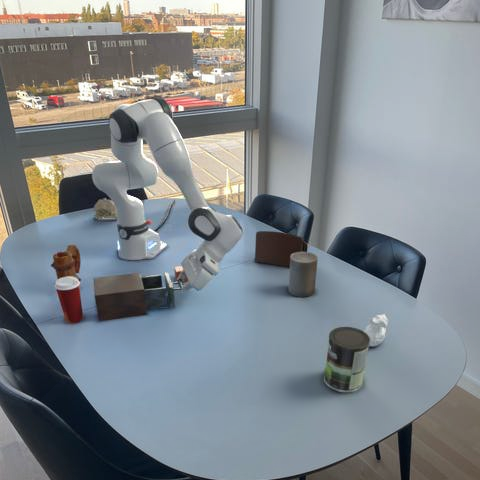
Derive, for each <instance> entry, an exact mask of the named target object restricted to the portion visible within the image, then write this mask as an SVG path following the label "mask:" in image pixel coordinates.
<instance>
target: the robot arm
mask: <svg viewBox="0 0 480 480" xmlns="http://www.w3.org/2000/svg"><path fill="white" fill-rule="evenodd" d="M108 128H109V130H110V150H111V153H112V155H113V156H114V157H115V158H116V159H117V160H115V161H105V162H102V163H99V164H96V165H95V166H94V167H93V169H92V173H91V179H92V182H93V184H94V186H95V187H96V188H97V189H98V190H99V191H101V192H102V193H104V194H105V195H107V196H108V197H109V199H110V200H111V201H112V202H113V203H114V206H115V209H116V213H117V223H116V228H117V233H118V234H117V236H118V237H117V238H118V240H117V252H118V255H117V256H118V257H119V258H120V259H122V260H124V261H139V260H150V259H154V258H155V257H157V255H159V254H160V253H161V252H163V250H165V249H166V248H167V247H168V245H167V244H166V243H165V242H163V241H162V240H161V236H160V234H159V233H157V232H156V231H158V229H160V228H161V227H162V226H163V224H165V222H166V220H167V218H168V216H169V214H170V211H171V208H172V206H173V204H174V203H175V201H176V199H173V200H172V202H171V203H170V205H169V206H168V210H167V212H166V214H165V217H164V219H163V220H162V221H161V222H160V224H159V225H158V226H157V227H155V228H154V229H151V228H150V227H149V226H152V225H153V221H152V220H151V219H147V220H146V217H145V208H144V204H143V202H142V201H141V200H140V199H139V198H137V197H134V196H131V195H129V194H128V193H127V191H128V190H135V189H144V188H148V187H151V186H154V185H156V183H157V182H158V179H159V169H160V170H161V172H162V173H163V174H164V175H165V176H166V177H167V178H168V179H170V180H171V181H172V182H173V183H174V184H175V185H176V186H177V187H178V189H179V190H180V192H181V194H182V196H183V198H184V200H185V202H186V204H187V206H188V208H189V210H190V214H189V215H188V217H187V218H188V219H187V224H188V228H189V229H190V231H191V232H192V233H193V234H194V235H195V236H196V237H197V236H198V237H199V238H200V239H202V240H203V241H202V243H201V244H199V246H198V247H197V248H196V249H194V250H192V251H191V252H189V253H188V254H187V255H186V256H185V257H184V258H183V259H182V260H181V262H180V265H181V266H182V267H183V270H182V271H181V273H180V276H179V277H178V278H177V281H176V282H178V281H179V280H182V282H183V281H184V278H185V277H186V276H187V278H188V281H187V282H186V284H184V286H182V287H181V288H180V287H179V288H180V290H179V291H180V292H181V293H183V294H185V293H186V292H187V291H188V290H191V289H194V290H195V291H196V292H199V291H201V290H203V289H204V288H205V287H206V286H207V285H208V284H209V283H210V282H211V280H212V279H213V277H214V276H215V277H216V276H217V275H218V274H219V273H220V263H221V262H222V260H224V257H226V255H227V254H228V253H230V252H231V251H232V250H233V249H234V247H235V246H236V245H237V244H238V243H239V241H240V240H241V238H242V237H243V234H244V232H243V231H244V230H243V228H242V226H241V224H240V223H239V221H238V220H237V219H236V217H235V216H233V215H232V214H224V213H222V212H218V211H216V210H215V208H213V207H212V206H211V204H209V203H208V202H207V200H206V198H205V196H204V194H203V191H202V190H201V188H200V186H199V184H198V182H197V179H196V177H195V174H194V168H193V166H192V161H191V157H190V154H189V151H188V148H187V146H186V142H185V141H184V139H183V137H182V135H181V133H180V132H179V129H178V127H177V126H176V124H175V123H174V114H173V110H172V107H171V105H170V104H169V102H167V100H165V99H164V98H162V97H152V98H150V99H145V100H140V101H136V102H134V103H131V104H128V103H123V104H119V105H117V107H115V109H114V111H113V112H111V113H109V117H108ZM143 140H144V141H146V144H147V145H148V147H149V151H150V152H151V153H150V154H151V155H152V157H153V159H154V160H155V162H154V161H152V159H149V158H147V157H146V156H145V154H144V152H143ZM156 164H157V165H156ZM157 166H158V167H159V169H158V167H157ZM183 283H184V282H183Z"/></svg>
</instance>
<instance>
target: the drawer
mask: <svg viewBox="0 0 480 480" xmlns="http://www.w3.org/2000/svg"><path fill="white" fill-rule="evenodd" d="M141 279H142V283H143V287H144V293H145V301H146V310H147V311H151V310H157V309H163V308H168V302H169V305H170V308H171V309H175V308H176V304H175V303H176V302H175V292H176V291H177V292H178V291H181V290H180V288H181V287H182V286H184V285H185V284H184V282H182V280H179V281H178V282H177V281H172V279H171V277H170V274H169V272H164V283H165V286H164V287H163V277H162V274H153V275H145V276H141ZM174 285H178V287H174Z"/></svg>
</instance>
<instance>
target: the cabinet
mask: <svg viewBox="0 0 480 480" xmlns="http://www.w3.org/2000/svg"><path fill="white" fill-rule="evenodd" d="M141 277H142V275H141V272H132V273H124V274H116V275H115V274H114V275H107V276H97V277H93V279H92V280H93V293H94V294H93V295H94V301H95V307H96V312H97V318H98V322H105V321H113V320H120V319H122V320H123V319H129V318H134V317H143V316H147V315H148V310H146V301H145V293H144V287H143V283H142V279H141Z"/></svg>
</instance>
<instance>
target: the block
mask: <svg viewBox="0 0 480 480" xmlns="http://www.w3.org/2000/svg"><path fill="white" fill-rule="evenodd" d="M182 270H183V267H182V265H181V266H180V265H178V266H174V279H175V280H176V281H175V282H177V278H178V277H179V276H180V273H181V271H182ZM185 282H186V283H187V282H188V278H187V276H186V277H185V278H184V281H183V283H185Z"/></svg>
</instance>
